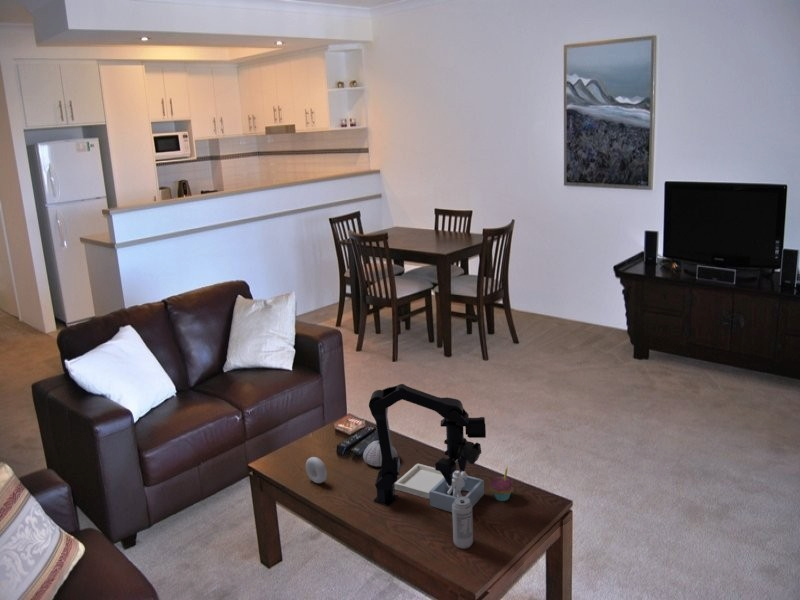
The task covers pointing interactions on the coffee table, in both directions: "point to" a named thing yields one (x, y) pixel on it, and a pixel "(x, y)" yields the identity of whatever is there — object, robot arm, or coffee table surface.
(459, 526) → the energy drink can
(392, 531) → the coffee table surface
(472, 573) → the coffee table surface
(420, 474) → the tray
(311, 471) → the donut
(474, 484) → the deep square frame
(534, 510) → the coffee table surface
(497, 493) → the cupcake
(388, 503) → the robot arm
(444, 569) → the coffee table surface
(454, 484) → the flower shoulder figurine
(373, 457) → the sea urchin shell
